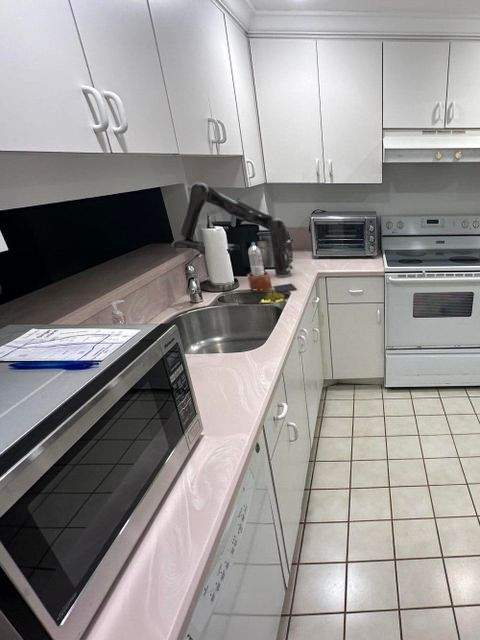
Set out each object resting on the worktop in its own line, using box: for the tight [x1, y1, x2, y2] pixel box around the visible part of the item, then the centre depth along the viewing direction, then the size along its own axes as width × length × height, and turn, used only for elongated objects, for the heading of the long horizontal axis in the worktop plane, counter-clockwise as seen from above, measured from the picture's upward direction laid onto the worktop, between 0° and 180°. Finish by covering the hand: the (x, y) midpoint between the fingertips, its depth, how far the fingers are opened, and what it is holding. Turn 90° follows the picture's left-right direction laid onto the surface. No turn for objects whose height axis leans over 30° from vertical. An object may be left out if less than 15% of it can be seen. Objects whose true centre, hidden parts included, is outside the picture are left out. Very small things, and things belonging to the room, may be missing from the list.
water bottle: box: [247, 241, 266, 277], centre depth 208 cm, size 7×7×25 cm
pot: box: [246, 271, 273, 293], centre depth 212 cm, size 11×11×8 cm
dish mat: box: [273, 283, 298, 294], centre depth 213 cm, size 11×10×1 cm
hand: (235, 249), depth 206 cm, fingers open, 8 cm apart
